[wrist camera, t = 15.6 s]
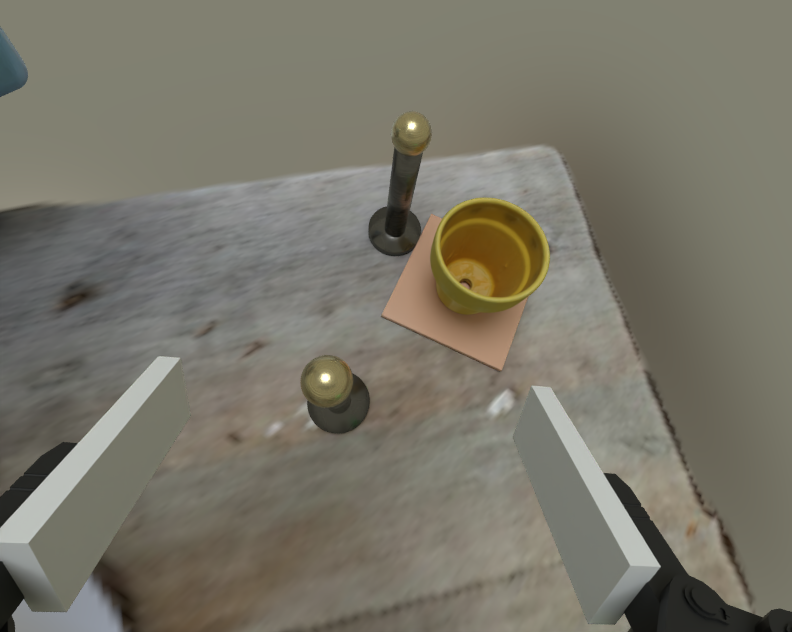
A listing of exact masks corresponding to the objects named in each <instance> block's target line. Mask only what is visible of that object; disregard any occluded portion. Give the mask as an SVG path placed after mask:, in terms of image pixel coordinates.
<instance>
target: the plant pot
mask: <svg viewBox="0 0 792 632" xmlns="http://www.w3.org/2000/svg"><path fill="white" fill-rule="evenodd" d="M549 262H550V251H549V246H548V242H547V239H546V236H545V234H544V232H543V230H542V229H541V227H540V226H539V224H538V223H537V222H536V221H535V219H534V218H533V217H532V216H531V215H530V214H528V213H527V212H526V211H525V210H523V209H522V208H520V207H518V206H516V205H514V204H512V203H510V202H507V201H504V200H500V199H496V198H475V199H471V200H468V201H464V202H462V203H460V204H458V205H456V206H455V207H453V208H452V209H451V210H450V211H449V212H448V213H447V214H446V215H445V216H444V217H443V219H442V220H441V222H440V224H439V226H438V228H437V230H436V233H435V236H434V239H433V243H432V247H431V253H430V263H431V269H432V273H433V276H434V278H435V280H436V289H437V293H438V296H439V298H440V300H441V301H442V303H443V304H444V305H445V306H446V307H447V308H449V309H450V310H452V311H454V312H456V313H459V314H465V315H470V314H476V313H480V312H483V313H494V312H500V311H504V310H507V309H509V308H512V307H514V306H515V305H517V304H518V303H520V302H521V301H523V300H524V299H526V298H527V297H528V296H529V295H531V294H532V293H533V292H534V291H535V290H536V289H537V288H538V287H539V286H540V285H541V283H542V282H543V280H544V278H545V276H546V274H547V271H548V268H549ZM461 281H466V282H468V283H469V284H470V289H467V288H466V287H465V286H463V285H462V284H461V283H460V282H461Z"/></svg>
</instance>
